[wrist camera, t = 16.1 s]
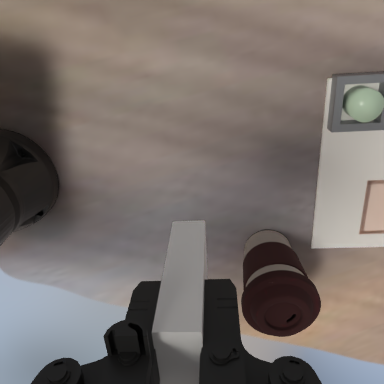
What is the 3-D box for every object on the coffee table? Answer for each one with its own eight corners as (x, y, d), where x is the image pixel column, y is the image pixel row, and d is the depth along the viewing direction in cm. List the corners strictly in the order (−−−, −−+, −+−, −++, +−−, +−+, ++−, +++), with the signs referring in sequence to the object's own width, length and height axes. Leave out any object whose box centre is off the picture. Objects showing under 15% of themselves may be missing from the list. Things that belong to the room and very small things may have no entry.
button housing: (327, 128, 48) (331, 132, 47) (332, 74, 45) (337, 76, 44) (380, 125, 48) (387, 129, 46) (389, 71, 45) (397, 73, 43)
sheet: (310, 247, 57) (311, 248, 57) (327, 78, 46) (328, 78, 45) (428, 244, 56) (430, 246, 55) (474, 70, 45) (476, 70, 44)
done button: (340, 117, 47) (348, 123, 45) (343, 86, 46) (352, 90, 43) (371, 115, 47) (381, 121, 44) (375, 84, 45) (387, 88, 43)
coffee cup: (226, 233, 57) (231, 299, 43) (287, 213, 55) (312, 275, 41) (247, 279, 60) (258, 354, 47) (305, 262, 58) (333, 334, 45)
